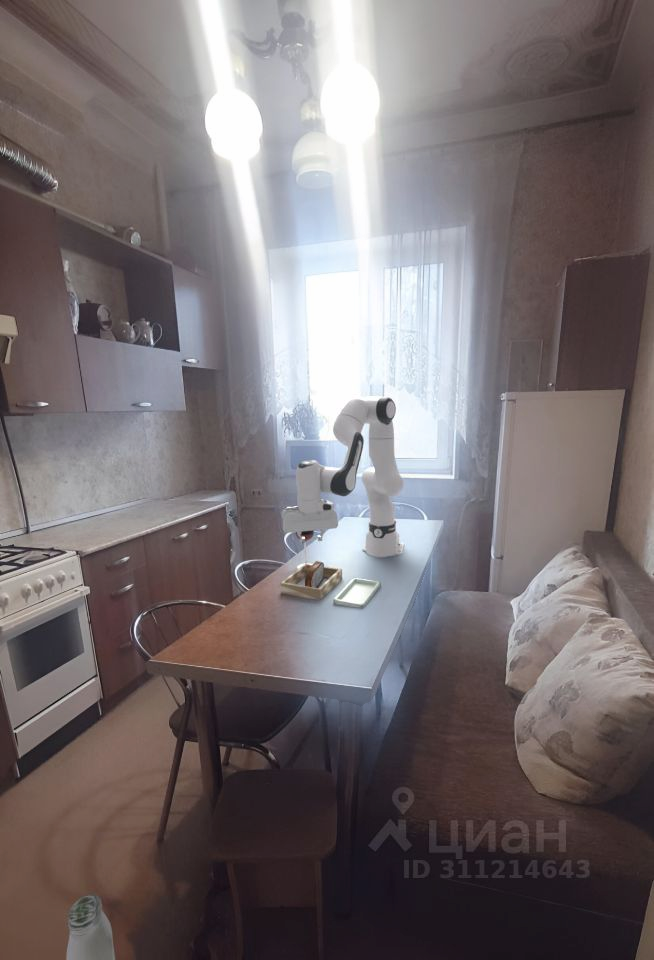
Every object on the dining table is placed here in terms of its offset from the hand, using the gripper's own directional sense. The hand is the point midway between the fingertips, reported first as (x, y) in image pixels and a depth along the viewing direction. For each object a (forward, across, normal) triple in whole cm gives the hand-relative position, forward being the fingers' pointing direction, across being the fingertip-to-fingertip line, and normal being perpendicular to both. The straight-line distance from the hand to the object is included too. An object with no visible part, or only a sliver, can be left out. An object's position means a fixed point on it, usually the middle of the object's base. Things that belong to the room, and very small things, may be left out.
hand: (311, 541), depth 161 cm
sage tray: (+18, +14, -12) cm, 26 cm away
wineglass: (+18, -1, +19) cm, 26 cm away
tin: (+18, +1, 0) cm, 18 cm away
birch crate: (+18, 0, 0) cm, 18 cm away
